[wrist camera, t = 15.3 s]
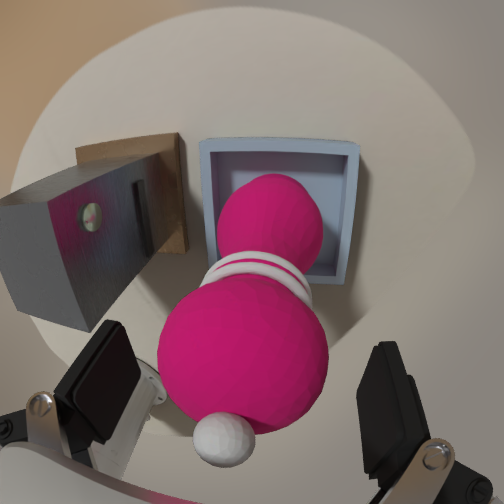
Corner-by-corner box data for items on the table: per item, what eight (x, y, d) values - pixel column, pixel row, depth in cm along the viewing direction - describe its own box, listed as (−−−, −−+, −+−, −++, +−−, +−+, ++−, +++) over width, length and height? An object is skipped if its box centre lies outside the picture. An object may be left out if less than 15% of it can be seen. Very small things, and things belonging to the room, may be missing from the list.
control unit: (189, 249, 27) (117, 355, 15) (99, 244, 29) (15, 322, 16) (178, 132, 22) (61, 167, 10) (81, 146, 24) (-32, 190, 11)
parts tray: (340, 269, 26) (343, 284, 24) (217, 262, 27) (210, 277, 25) (352, 142, 21) (359, 145, 18) (208, 138, 22) (199, 141, 20)
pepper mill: (336, 206, 23) (408, 459, 5) (280, 264, 26) (246, 501, 8) (267, 148, 21) (141, 334, 4) (215, 214, 25) (78, 427, 7)
